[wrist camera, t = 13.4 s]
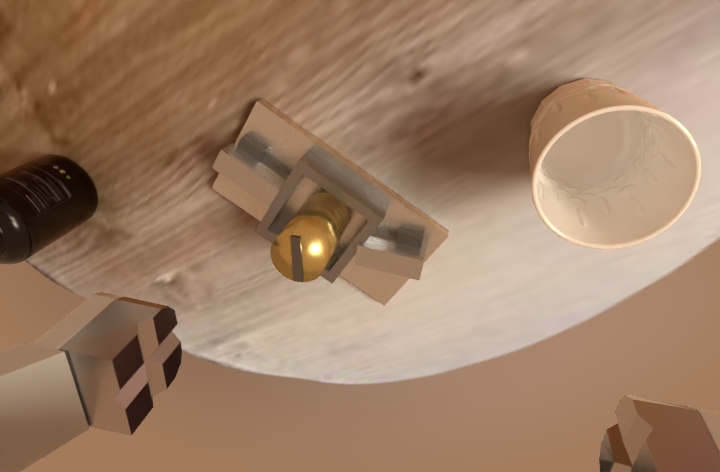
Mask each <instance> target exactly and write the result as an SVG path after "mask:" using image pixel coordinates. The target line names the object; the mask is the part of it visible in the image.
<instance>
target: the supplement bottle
mask: <svg viewBox="0 0 720 472" xmlns="http://www.w3.org/2000/svg"><path fill="white" fill-rule="evenodd" d="M97 205H98V195H97V191H96V188H95V185H94V183H93V181H92V179H91V178H90V176H89V175H88V174H87V173H86V172H85V171H84V170H83V169H82V168H81V167H80V166H79V165H78V164H76V163H75V162H73V161H71V160H69V159H67V158H64V157H61V156H56V155H49V156H44V157H41V158H38V159H36V160H33V161H31V162H29V163H26V164H24V165H22V166H19V167H17V168H15V169H12V170H10V171H8V172H5V173H3V174H1V175H0V264H15V263H19V262H22V261H24V260H25V259H27V258H29V257H31V256H32V255H34V254H35V253H37V252H39V251H40V250H42V249H43V248H45V247H46V246H48V245H49V244H51V243H53V242H54V241H56V240H57V239H59V238H60V237H62V236H64V235H65V234H67V233H68V232H70V231H71V230H73V229H75V228H76V227H78V226H79V225H81V224H82V223H84V222H85V221H87V220H88V219H89V218H91V217H92V216H93V214H94V213H95V211H96V208H97Z"/></svg>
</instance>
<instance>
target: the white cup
mask: <svg viewBox="0 0 720 472" xmlns="http://www.w3.org/2000/svg"><path fill="white" fill-rule="evenodd" d="M529 165H530V176H531V189H532V198H533V202H534V205H535V208H536V210H537V212H538V214H539V216H540V218H541V219H542V221H543V222H544V223H545V224H546V226H547V227H548V228H549V229H550V230H552V231H553V232H554V233H555V234H557V235H558V236H560V237H561V238H563V239H565V240H567V241H569V242H571V243H574V244H576V245H580V246H583V247H588V248H595V249H614V248H622V247H627V246H631V245H635V244H638V243H641V242H643V241H646V240H648V239H650V238H652V237H654V236H656V235H658V234H659V233H661V232H662V231H664V230H665V229H667V228H668V227H669V226H671V225H672V224H673V223H674V222H675V221H676V220H677V219H678V218H679V217H680V216H681V215H682V214H683V213H684V211H685V210H686V209H687V207H688V206H689V204H690V203H691V201H692V199H693V197H694V195H695V193H696V191H697V188H698V185H699V181H700V175H701V160H700V154H699V150H698V147H697V145H696V143H695V141H694V139H693V137H692V136H691V134H690V133H689V131H688V130H687V129H686V128H685V127H684V126H683V125H682V124H681V123H680V122H678V121H677V120H676V119H674V118H673V117H671V116H670V115H668V114H666V113H665V112H663V111H662V110H660V109H658V108H657V107H655V106H654V105H652V104H651V103H649V102H648V101H646V100H645V99H643V98H641V97H639V96H637V95H635V94H633V93H631V92H630V91H628V90H626V89H623V88H620V87H618V86H616V85H614V84H613V83H611V82H609V81H602V80H595V79H588V78H584V79H581V80H577V81H574V82H571V83H567V84H564V85H561V86H559V87H558V88H557V89H556V90H554V91H553V92H552V93H551V94H550V95H548V96H547V97H546V98H545V99H543V100H542V101H541V103H540V105H539V107H538V109H537V110H536V112H535V114H534V116H533V118H532V120H531V125H530V140H529Z"/></svg>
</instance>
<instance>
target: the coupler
mask: <svg viewBox="0 0 720 472" xmlns="http://www.w3.org/2000/svg"><path fill="white" fill-rule="evenodd" d="M348 223H349V211H348V209H347V207H346V205H345V204H344V203H343V202H342V201H340V200H339V199H338V198H336V197H335V196H333V195H332V194H330V193H324V192H321V193H316V194H313V195H311V196H310V197H309V198H308V199H307V200H306V201H305V202H304V204H303V205H302V206H301V207H300V209H299V210H298V211H297V213H296V214H295V215H294V216H293V218H292V219H291V220H290V222H289V223H288V224H287V225H286V227H285V228H284V229H283V231H282V232H281V233H280V234H279V236H278V237H277V238H276V240H275V241H274V242H273V244H272V247H271V258H272V261H273V264H274V266H275V267H276V268H277V270H278V271H279V272H280V273H281V274H282V275H284V276H285V277H287V278H289V279H291V280H293V281H297V282H309V281H312V280H315V279H316V278H318V277H319V276H320V275H321V274H322V272H323V270H324V269H325V267H326V265H327V263H328V261H329V259H330V257H331V256H332V254H333V252H334V250H335V248H336V246H337V244H338V243H339V241H340V239H341V237H342V235H343V233H344V231H345V230H346V228H347V226H348Z"/></svg>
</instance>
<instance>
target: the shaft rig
mask: <svg viewBox="0 0 720 472" xmlns="http://www.w3.org/2000/svg"><path fill="white" fill-rule="evenodd" d="M212 168H213V169H214V170H216V171H217V172H219V175H218V177H217V178H216V180H215V182H214V184H213V186H212V189H214V190H215V191H217V192H218V193H220V194H221V195H222V196H224V197H225V198H227V199H228V200H230V201H231V202H233V203H234V204H236V205H237V206H239V207H240V208H242V209H243V210H244V211H246V212H247V213H249V214H250V215H252V216H253V217H255V218H256V219H258V220H259V221H260V223H259V225H258V226H257V228H256V229H255V231H256V232H257V233H258V234H260V235H261V236H263V237H264V238H266V239H267V240H269V241H270V242H272V243H273V242H274V241H275V240H276V238H277V237H278V236H279V234H280V233H281V232H282V231H283V229H284V228H285V227H286V225H287V224H288V223H289V222H290V220H291V219H292V218H293V216H294V215H295V214H296V213H297V211H298V210H299V209H300V207H301V206H302V205H303V204H304V202H305V201H306V200H307V199H308V198H309V197H310V196H311V195H313V194H316V193H321V192H324V193H330V194H332V195H333V196H335V197H336V198H338V199H339V200H340V201H342V202H343V203H344V204H345V205H346V207H347V209H348V211H349V223H348V226H347V228H346V230H345V231H344V233H343V235H342V237H341V239H340V241H339V243H338V244H337V246H336V248H335V250H334V252H333V254H332V256H331V257H330V259H329V261H328V263H327V265H326V267H325V269H324V270H323V272H322V274H321V275H320V276H322V277H323V278H325V279H326V280H328V281H329V282H331V283H333V282H334V281H335V279H336V278H337V277H338V276H339V275H340V276H341V277H343V278H344V279H346V280H347V281H349V282H350V283H352V284H353V285H355V286H356V287H358V288H359V289H360V290H362V291H363V292H365V293H366V294H368V295H369V296H371V297H372V298H374V299H375V300H377V301H378V302H380V303H381V304H382V305H385V304H386V303H387V302H388V301H389V300H390V299H391V298H392V297H393V296H394V295H395V294H396V292H397V291H398V290H399V289H400V288H401V287H402V286H403V285H404V284H405V283H406V282H407V281H408V279H409V278H412V279H416V280H419V279H420V275H421V271H422V267H423V263H424V262H425V261H426V260H427V259H428V258H429V257H430V256H431V254H432V253H433V252H434V251H435V250H436V249H437V248H438V247H439V246H440V245H441V244H442V243H443V241H444V240H445V239H446V238H447V237H448V232H449V231H448V230H447V229H445V228H444V227H442V226H441V225H440V224H438V223H437V222H435V221H434V220H433V219H431V218H430V217H428V216H427V215H425V214H424V213H423V212H421V211H420V210H418V209H417V208H416V207H414V206H413V205H411V204H410V203H409V202H407V201H406V200H404V199H403V198H402V197H400V196H399V195H397V194H396V193H395V192H393V191H392V190H390V189H389V188H388V187H386V186H385V185H383V184H382V183H381V182H379V181H378V180H376V179H375V178H373V177H372V176H371V175H369V174H368V173H366V172H365V171H364V170H362V169H361V168H359V167H358V166H357V165H355V164H354V163H352V162H351V161H350V160H348V159H347V158H345V157H344V156H343V155H341V154H340V153H338V152H337V151H336V150H334V149H333V148H331V147H330V146H328V145H327V144H326V143H324V142H323V141H321V140H320V139H319V138H317V137H316V136H314V135H313V134H312V133H310V132H309V131H307V130H306V129H305V128H303V127H302V126H300V125H299V124H298V123H296V122H295V121H293V120H292V119H291V118H289V117H288V116H286V115H285V114H284V113H282V112H281V111H279V110H278V109H276V108H275V107H274V106H272V105H271V104H269V103H268V102H267V101H265V100H264V99H262V98H261V99H260V100H258V101H257V102H256V104H255V106H254V108H253V109H252V111H251V113H250V115H249V117H248V119H247V121H246V123H245V125H244V127H243V129H242V131H241V132H240V134H239V136H238V138H237V140H236V142H235V144H234V143H232V142H231V143H230V144H229V145H227V146H226V147H224V148H223V149H221V151H220V153H219V155H218V157H217V159H216V161H215V162H214V164H213V166H212Z"/></svg>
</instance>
